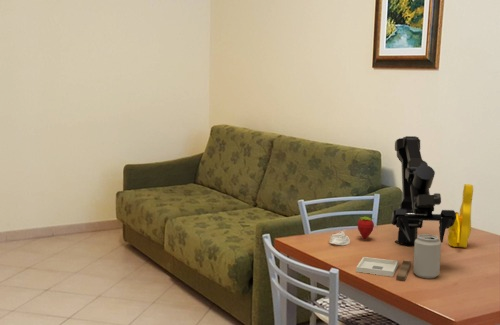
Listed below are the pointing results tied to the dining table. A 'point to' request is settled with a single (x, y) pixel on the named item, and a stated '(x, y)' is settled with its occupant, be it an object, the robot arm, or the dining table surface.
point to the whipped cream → (339, 239)
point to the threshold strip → (403, 270)
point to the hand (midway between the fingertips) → (426, 241)
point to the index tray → (377, 266)
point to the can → (427, 256)
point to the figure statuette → (462, 221)
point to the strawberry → (365, 226)
